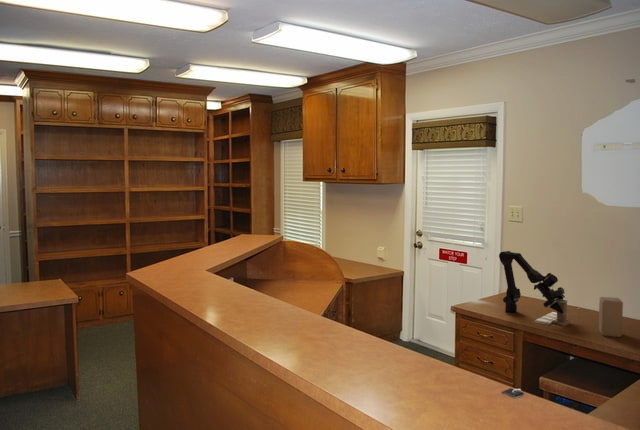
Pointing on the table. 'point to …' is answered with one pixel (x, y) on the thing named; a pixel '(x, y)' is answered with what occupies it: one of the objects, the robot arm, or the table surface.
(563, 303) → the square column stand
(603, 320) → the wooden block
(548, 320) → the ash board
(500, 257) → the robot arm
